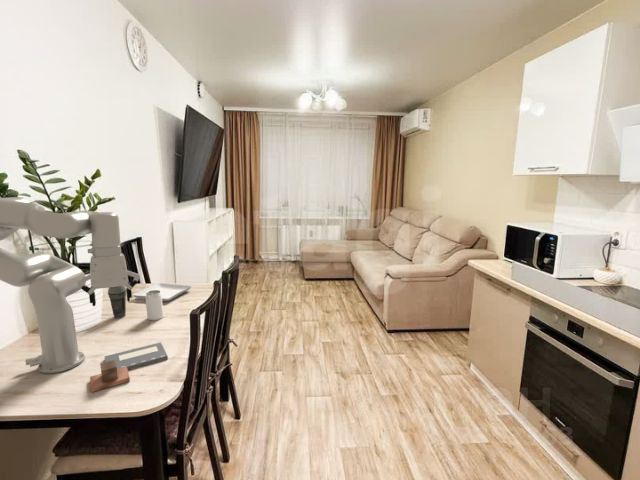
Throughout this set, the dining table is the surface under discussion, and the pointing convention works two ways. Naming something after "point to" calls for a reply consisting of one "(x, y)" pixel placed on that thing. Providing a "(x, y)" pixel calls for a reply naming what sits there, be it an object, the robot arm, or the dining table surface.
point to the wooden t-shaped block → (109, 376)
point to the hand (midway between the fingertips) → (111, 302)
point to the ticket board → (138, 356)
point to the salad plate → (164, 291)
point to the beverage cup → (118, 300)
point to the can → (154, 305)
